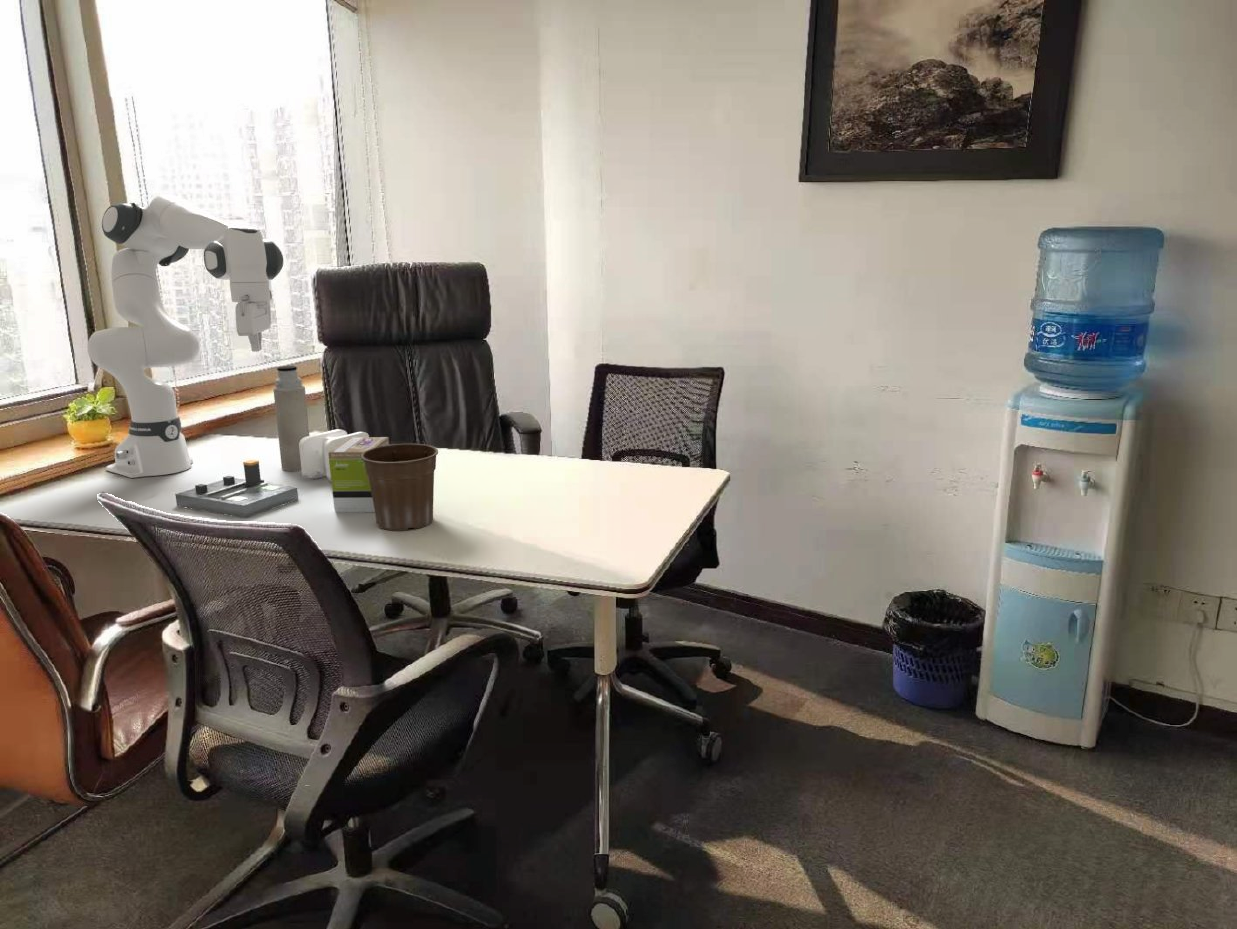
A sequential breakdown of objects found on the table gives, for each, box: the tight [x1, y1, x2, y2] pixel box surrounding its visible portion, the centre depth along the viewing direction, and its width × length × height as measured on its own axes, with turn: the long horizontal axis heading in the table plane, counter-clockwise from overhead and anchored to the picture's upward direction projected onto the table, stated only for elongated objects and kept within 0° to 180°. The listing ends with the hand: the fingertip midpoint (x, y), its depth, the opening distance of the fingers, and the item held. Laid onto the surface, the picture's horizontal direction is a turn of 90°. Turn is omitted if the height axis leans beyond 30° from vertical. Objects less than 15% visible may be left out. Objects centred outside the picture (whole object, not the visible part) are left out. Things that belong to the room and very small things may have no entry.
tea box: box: [328, 436, 390, 513], centre depth 201 cm, size 15×10×15 cm, turn 178°
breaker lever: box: [242, 459, 265, 486], centre depth 206 cm, size 3×4×6 cm
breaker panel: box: [174, 475, 299, 519], centre depth 203 cm, size 22×16×5 cm
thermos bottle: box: [272, 365, 311, 472], centre depth 232 cm, size 8×8×28 cm
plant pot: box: [361, 443, 439, 532], centre depth 186 cm, size 16×16×16 cm
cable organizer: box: [299, 429, 370, 481], centre depth 225 cm, size 15×11×12 cm
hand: (256, 350), depth 211 cm, fingers closed
